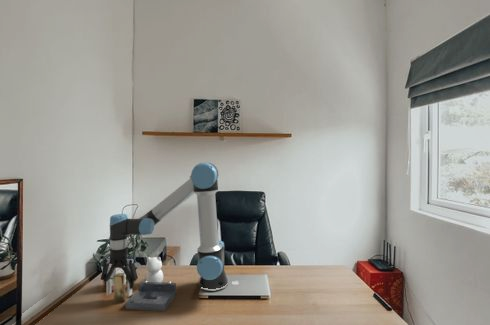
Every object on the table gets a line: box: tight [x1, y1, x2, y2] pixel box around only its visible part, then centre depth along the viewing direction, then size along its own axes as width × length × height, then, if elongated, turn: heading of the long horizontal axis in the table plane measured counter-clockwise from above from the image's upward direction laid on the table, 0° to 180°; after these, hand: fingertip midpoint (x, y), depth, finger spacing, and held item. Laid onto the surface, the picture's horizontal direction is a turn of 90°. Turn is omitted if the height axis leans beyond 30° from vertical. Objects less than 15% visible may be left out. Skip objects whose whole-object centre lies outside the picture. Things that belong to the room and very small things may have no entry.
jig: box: [124, 279, 177, 312], centre depth 125 cm, size 18×14×7 cm
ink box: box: [107, 265, 127, 292], centre depth 141 cm, size 9×5×12 cm, turn 168°
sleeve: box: [113, 273, 126, 304], centre depth 127 cm, size 5×5×12 cm
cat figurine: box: [145, 256, 164, 282], centre depth 145 cm, size 9×12×15 cm
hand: (119, 294), depth 127 cm, fingers open, 10 cm apart
